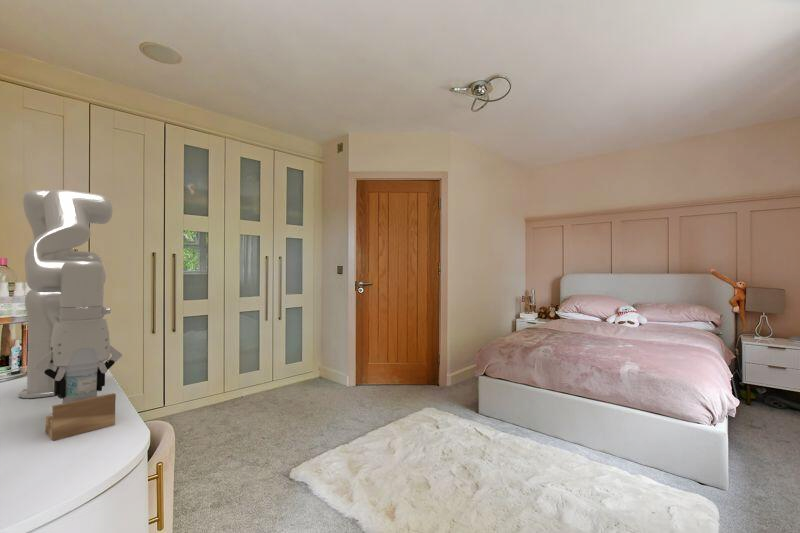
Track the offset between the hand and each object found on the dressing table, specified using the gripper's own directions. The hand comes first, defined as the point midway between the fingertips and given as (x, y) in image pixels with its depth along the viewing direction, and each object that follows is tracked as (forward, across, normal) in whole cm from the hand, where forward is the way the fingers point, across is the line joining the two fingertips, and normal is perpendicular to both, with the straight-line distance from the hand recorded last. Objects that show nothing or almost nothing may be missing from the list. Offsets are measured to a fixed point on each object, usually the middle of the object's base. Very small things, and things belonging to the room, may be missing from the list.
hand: (80, 392), depth 84 cm
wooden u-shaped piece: (+8, 0, +1) cm, 8 cm away
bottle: (+7, 0, 0) cm, 7 cm away
